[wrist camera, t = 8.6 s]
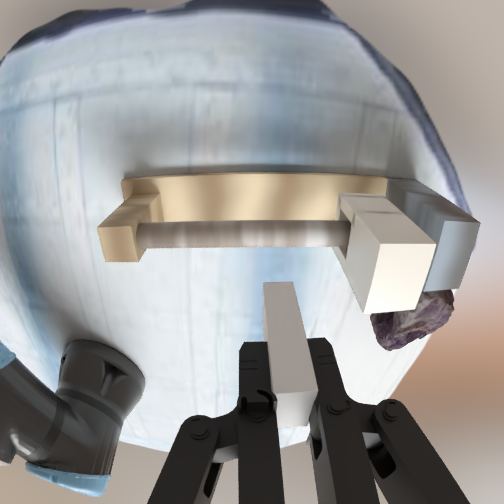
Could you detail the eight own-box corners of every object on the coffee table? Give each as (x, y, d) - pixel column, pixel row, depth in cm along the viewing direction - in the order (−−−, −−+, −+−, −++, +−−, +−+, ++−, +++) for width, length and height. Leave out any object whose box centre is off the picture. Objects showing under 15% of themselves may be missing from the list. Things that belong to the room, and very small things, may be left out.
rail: (133, 233, 29) (87, 295, 20) (124, 178, 26) (65, 223, 17) (406, 231, 29) (458, 288, 20) (416, 180, 26) (480, 222, 17)
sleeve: (331, 246, 25) (363, 314, 17) (337, 192, 23) (380, 243, 15) (372, 246, 25) (414, 309, 17) (381, 194, 23) (436, 243, 15)
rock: (354, 309, 36) (417, 304, 36) (368, 364, 29) (437, 353, 29) (376, 235, 29) (447, 237, 29) (404, 294, 22) (482, 287, 22)
